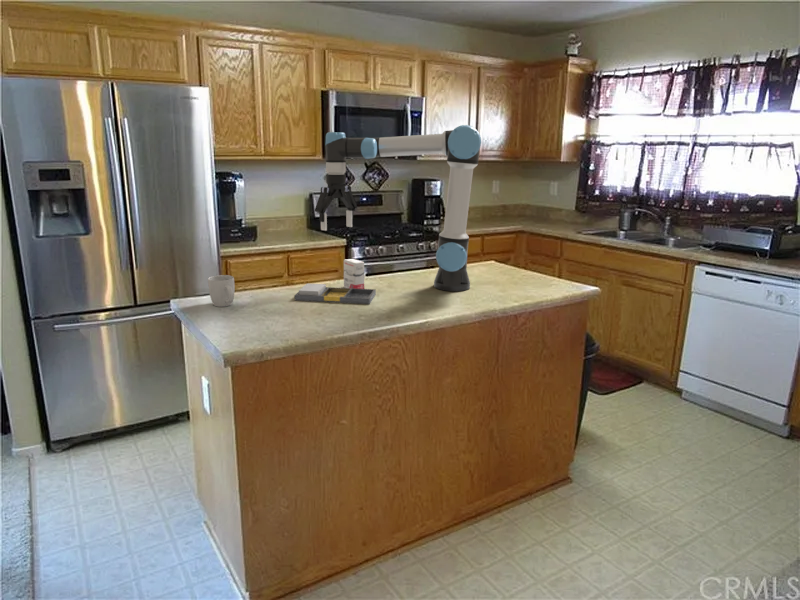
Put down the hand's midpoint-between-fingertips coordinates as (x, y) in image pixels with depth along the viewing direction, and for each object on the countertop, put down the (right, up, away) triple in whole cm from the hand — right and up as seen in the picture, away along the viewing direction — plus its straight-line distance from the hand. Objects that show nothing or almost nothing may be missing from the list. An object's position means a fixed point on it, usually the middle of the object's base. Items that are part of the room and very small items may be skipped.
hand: (336, 228), depth 219 cm
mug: (-38, -31, -19) cm, 53 cm away
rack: (0, -27, -6) cm, 28 cm away
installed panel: (-9, -27, -5) cm, 29 cm away
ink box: (+6, -24, +8) cm, 26 cm away
